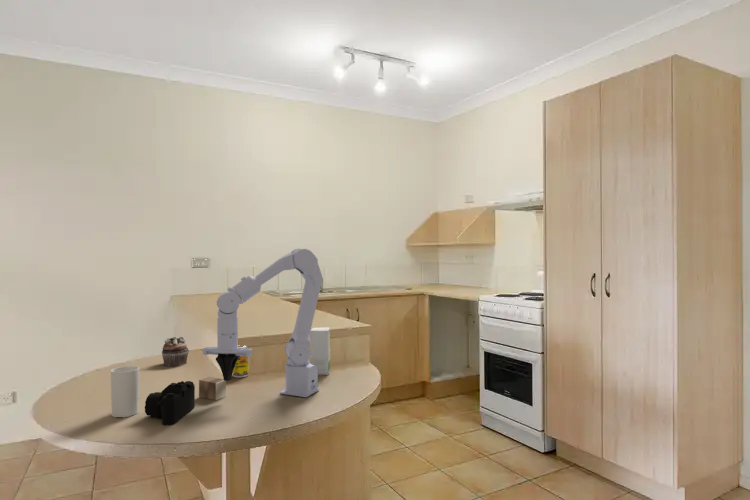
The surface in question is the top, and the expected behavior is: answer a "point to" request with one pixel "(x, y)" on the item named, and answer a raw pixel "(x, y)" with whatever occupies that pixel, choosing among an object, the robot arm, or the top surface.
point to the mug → (124, 391)
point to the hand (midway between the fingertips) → (227, 379)
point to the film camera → (171, 402)
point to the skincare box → (320, 349)
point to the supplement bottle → (241, 366)
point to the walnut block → (212, 388)
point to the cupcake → (175, 352)
